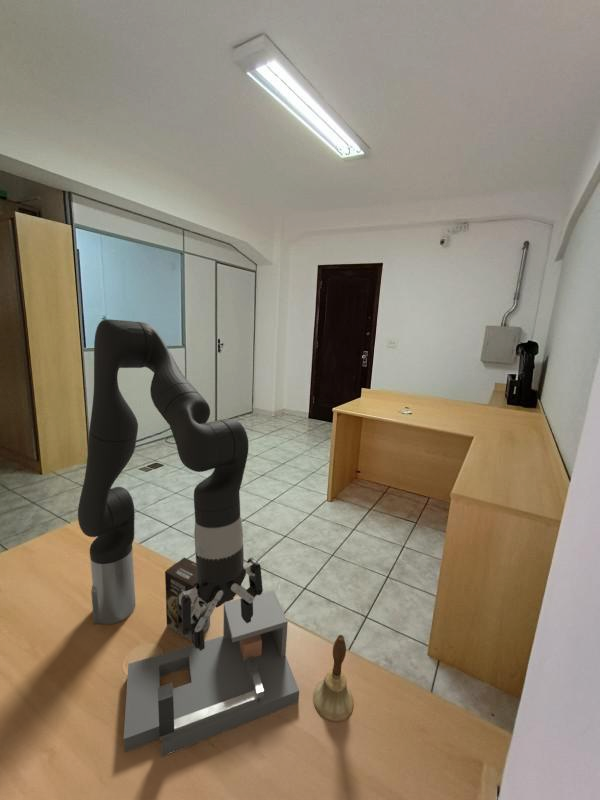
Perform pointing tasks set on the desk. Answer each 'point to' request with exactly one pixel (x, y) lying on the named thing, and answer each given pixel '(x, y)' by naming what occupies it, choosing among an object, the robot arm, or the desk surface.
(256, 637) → the block
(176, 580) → the coffee box
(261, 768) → the desk surface
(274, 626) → the cubby
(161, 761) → the desk surface
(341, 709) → the hand bell
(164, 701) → the grey bar handle
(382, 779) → the desk surface
